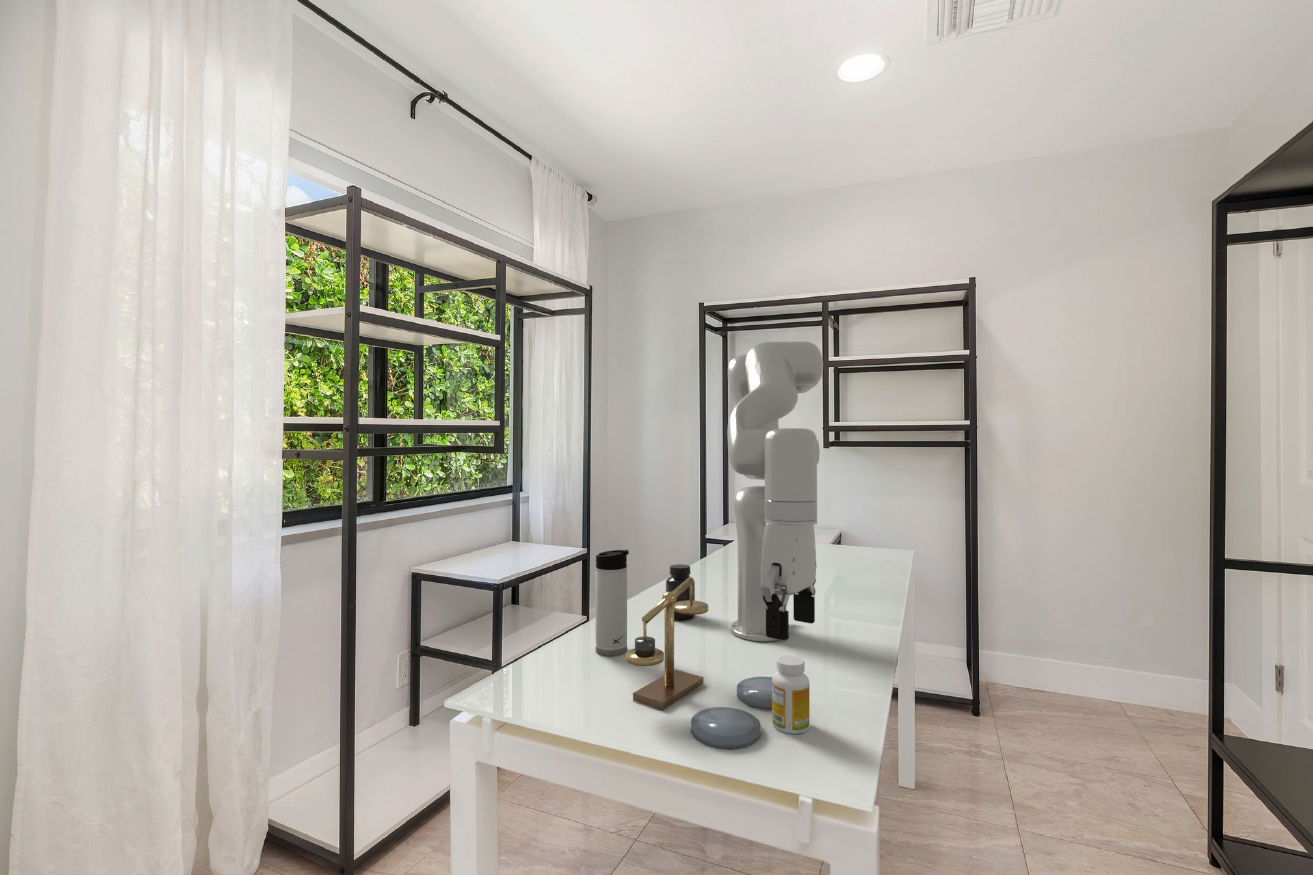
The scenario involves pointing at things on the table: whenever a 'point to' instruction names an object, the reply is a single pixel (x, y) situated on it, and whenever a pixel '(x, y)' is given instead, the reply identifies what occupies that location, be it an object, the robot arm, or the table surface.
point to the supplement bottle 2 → (790, 696)
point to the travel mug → (611, 602)
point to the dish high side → (756, 692)
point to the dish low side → (725, 728)
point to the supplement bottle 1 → (676, 579)
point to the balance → (666, 652)
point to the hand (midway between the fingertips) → (791, 629)
